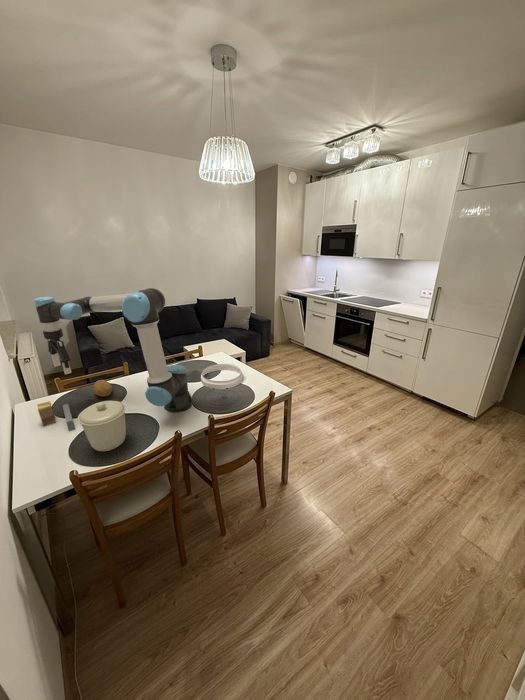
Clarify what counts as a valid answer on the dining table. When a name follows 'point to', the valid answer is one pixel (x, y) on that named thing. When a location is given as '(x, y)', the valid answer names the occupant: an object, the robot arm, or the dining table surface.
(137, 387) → the dining table surface
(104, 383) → the potato
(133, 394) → the dining table surface
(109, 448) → the canister
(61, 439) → the dining table surface
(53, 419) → the block
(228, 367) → the white flat ring
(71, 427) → the grey bar
